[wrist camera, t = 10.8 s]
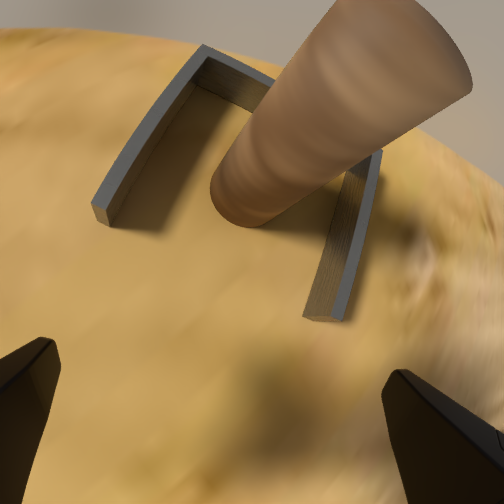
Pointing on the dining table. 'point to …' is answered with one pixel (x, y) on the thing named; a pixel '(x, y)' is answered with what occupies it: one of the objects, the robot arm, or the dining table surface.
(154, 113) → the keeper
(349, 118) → the peg
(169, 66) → the dining table surface
